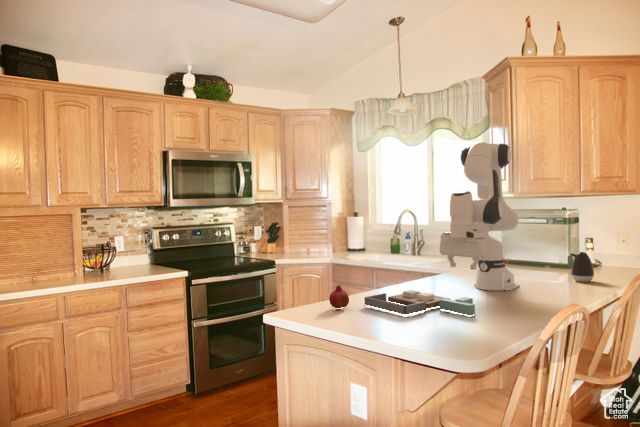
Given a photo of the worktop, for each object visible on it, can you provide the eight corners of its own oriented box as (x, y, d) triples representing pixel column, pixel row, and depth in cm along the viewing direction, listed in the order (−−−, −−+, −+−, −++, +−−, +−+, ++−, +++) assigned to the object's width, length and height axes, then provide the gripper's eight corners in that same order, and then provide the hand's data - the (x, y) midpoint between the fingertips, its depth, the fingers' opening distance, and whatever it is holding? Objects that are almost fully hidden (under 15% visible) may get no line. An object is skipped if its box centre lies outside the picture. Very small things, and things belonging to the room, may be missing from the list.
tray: (385, 303, 191) (384, 293, 191) (426, 312, 173) (425, 301, 173) (364, 307, 185) (364, 297, 185) (405, 318, 166) (404, 306, 166)
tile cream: (425, 297, 187) (425, 292, 187) (434, 299, 183) (434, 294, 183) (417, 299, 184) (416, 294, 184) (426, 301, 180) (426, 296, 180)
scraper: (454, 307, 180) (454, 295, 180) (484, 313, 169) (484, 300, 169) (439, 310, 175) (439, 298, 175) (470, 317, 164) (469, 304, 164)
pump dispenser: (571, 279, 234) (571, 250, 234) (595, 280, 228) (594, 251, 227) (569, 282, 226) (568, 252, 225) (593, 283, 219) (592, 253, 219)
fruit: (351, 311, 179) (350, 286, 179) (331, 312, 178) (330, 288, 178) (346, 306, 187) (346, 283, 187) (328, 308, 186) (327, 284, 186)
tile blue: (411, 294, 194) (410, 290, 194) (419, 296, 189) (419, 291, 189) (403, 296, 191) (402, 291, 191) (411, 298, 187) (411, 293, 187)
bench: (414, 298, 200) (413, 291, 200) (450, 305, 183) (449, 298, 183) (388, 303, 190) (388, 296, 190) (423, 312, 174) (423, 304, 174)
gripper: (435, 232, 179) (436, 266, 179) (479, 234, 162) (480, 271, 162) (445, 231, 183) (446, 264, 183) (490, 233, 166) (490, 269, 166)
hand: (463, 268), depth 172 cm, fingers open, 8 cm apart
